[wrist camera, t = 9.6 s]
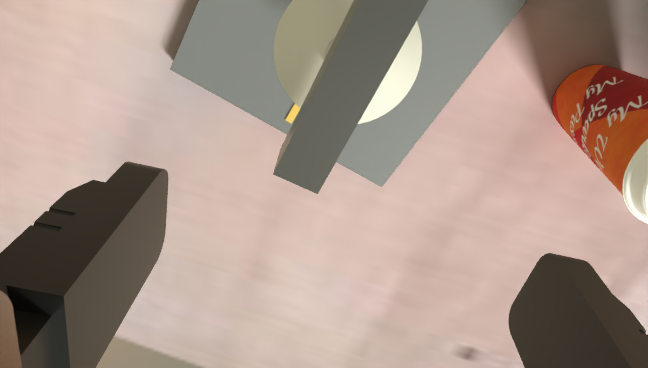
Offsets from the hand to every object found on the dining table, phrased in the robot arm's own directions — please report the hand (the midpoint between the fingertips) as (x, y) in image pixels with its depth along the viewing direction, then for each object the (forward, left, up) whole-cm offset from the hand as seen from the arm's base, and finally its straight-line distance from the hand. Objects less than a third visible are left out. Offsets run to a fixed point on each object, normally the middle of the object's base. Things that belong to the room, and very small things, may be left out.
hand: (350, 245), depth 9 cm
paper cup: (-20, -5, -28) cm, 35 cm away
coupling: (0, 0, -20) cm, 20 cm away
